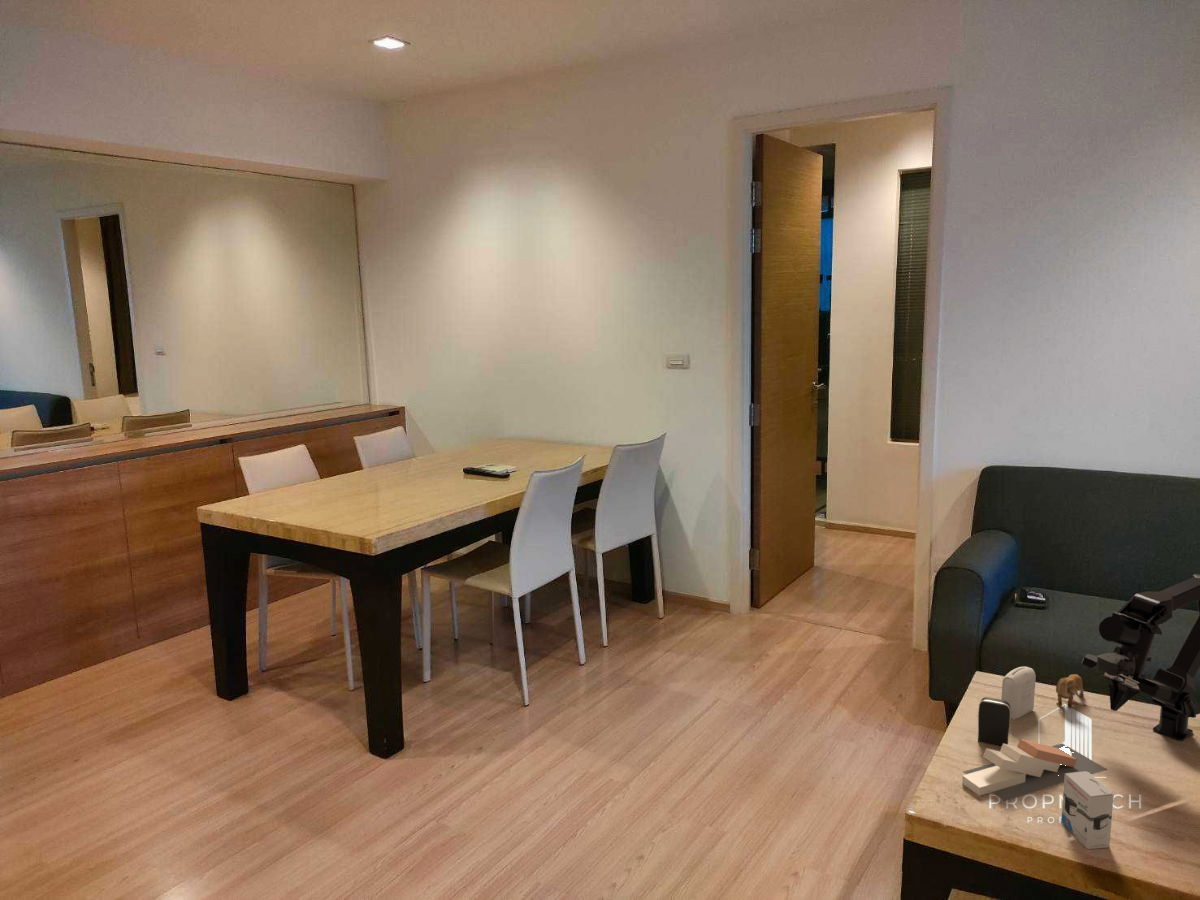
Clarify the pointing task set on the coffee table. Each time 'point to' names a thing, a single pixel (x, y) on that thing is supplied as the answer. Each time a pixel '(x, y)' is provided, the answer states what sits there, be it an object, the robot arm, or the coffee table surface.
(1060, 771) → the domino mat
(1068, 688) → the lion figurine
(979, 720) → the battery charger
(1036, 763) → the ivory domino
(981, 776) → the ivory domino
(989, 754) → the ivory domino
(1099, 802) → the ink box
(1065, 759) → the terracotta domino
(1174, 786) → the coffee table surface
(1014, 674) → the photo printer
